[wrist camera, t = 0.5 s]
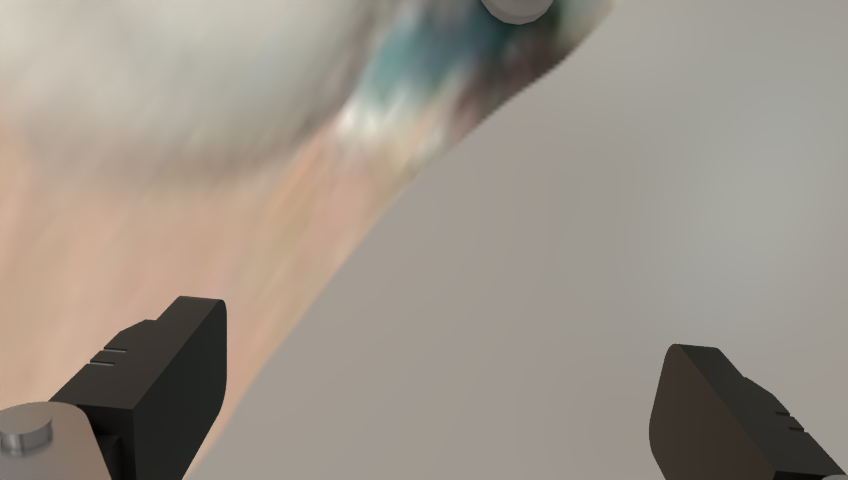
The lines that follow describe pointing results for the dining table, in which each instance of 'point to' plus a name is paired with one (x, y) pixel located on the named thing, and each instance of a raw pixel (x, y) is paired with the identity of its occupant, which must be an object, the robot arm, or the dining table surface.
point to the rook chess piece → (517, 10)
